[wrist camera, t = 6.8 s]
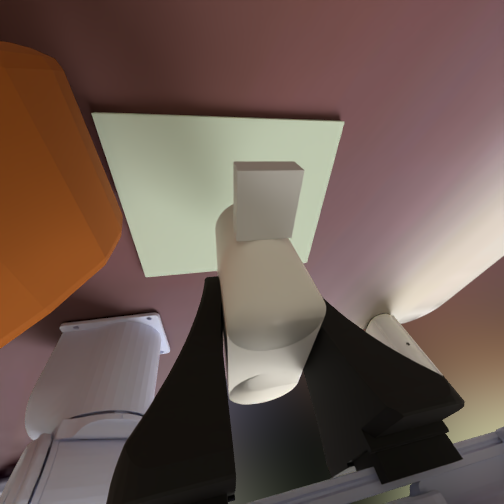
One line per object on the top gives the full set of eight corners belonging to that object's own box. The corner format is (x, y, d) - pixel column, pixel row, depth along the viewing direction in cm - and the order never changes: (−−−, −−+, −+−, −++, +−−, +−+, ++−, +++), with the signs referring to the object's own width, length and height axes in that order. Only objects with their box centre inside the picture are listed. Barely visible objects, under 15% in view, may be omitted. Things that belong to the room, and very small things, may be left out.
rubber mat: (146, 273, 21) (145, 277, 21) (94, 112, 13) (91, 113, 13) (305, 259, 24) (306, 262, 24) (340, 120, 16) (344, 121, 16)
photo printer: (369, 315, 34) (436, 408, 25) (394, 310, 35) (469, 398, 25) (354, 349, 41) (402, 432, 31) (376, 344, 41) (430, 424, 32)
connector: (219, 313, 15) (229, 408, 11) (210, 143, 9) (223, 211, 4) (265, 308, 16) (291, 396, 11) (288, 144, 9) (370, 204, 5)
